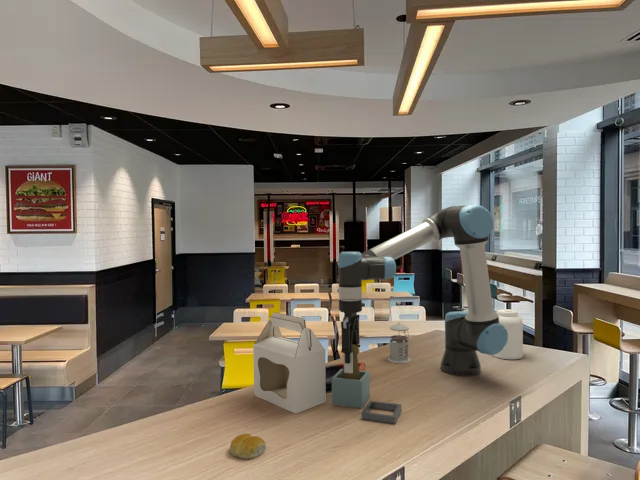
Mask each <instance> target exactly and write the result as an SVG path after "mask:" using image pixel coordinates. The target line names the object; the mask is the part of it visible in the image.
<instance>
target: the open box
mask: <svg viewBox="0 0 640 480" xmlns="http://www.w3.org/2000/svg"><path fill="white" fill-rule="evenodd" d="M359 372H360V380H354V379H345V378H342V374H343V369H340V370H339V371H338V372H337V373H336V374H335V375H334V376H333V377H332V389H331V405H335V406H341V407H349V408H350V407H351V408H359V409H363V408H364V407H365V406H366V405H365V404H366V403H368V400H369V399H370V397H371V395H370V394H371V390H370V389H371V387H370V386H371V385H370V383H371V381H370V378H371V377H370V375H371V374H370V373H371V372H370V371H366V370H365V371H359Z"/></svg>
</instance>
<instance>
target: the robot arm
mask: <svg viewBox="0 0 640 480" xmlns="http://www.w3.org/2000/svg"><path fill="white" fill-rule="evenodd" d="M493 228H494V219H493V215H492V214H491V212H490V211H489V210H488V209H487V208H486V207H484V206H483V205H479V204H465V205H455V206H454V205H451V206H448V207H445V208H443V209H441V210H439V211H437V212H435V213H433V214H432V215H430V216H427V217H426V218H424V219H423V220H422V222H421V223H419V224H418V225H416V226H414V227H412V228H410V229H408V230H406V231H404V232H402V233H400V234H397V235H395V236H394V237H392V238H389V239H388V240H386V241H383V242H382V243H380V244H378V245H376V246H373V247H372V248H370V249H368V250H365V251H364V252H362V253H361V252H360V251H343V252H340V253H339V254H338V259H337V260H338V262H337V268H338V271H337V272H338V288H337V292H338V299H339V300H338V310H339V312H340V313H344V315H343V316H344V317H343V319H342V321H341V322H340V327H341V329H340V330H341V351H340V353H343V363H344V373H353V353H352V344H354V345H357V346H358V348H360V347H361V344H360V314H358V313H360V312H362V310H363V301H362V298H363V283H362V281H373V280H374V281H375V280H389V279H392V278H394V277H395V275H396V273H397V264H396V261H395V260H398V259H399V258H401V257H404V256H405V255H406V254H409V253H410V252H413V251H415V250H417V249H419V248H420V247H421V248H422V246H424V245H426V244H429V243H431V242H434V243H435V242H438V241H440V240H442V239H445V238H446V239H447V238H453V240H454V245H455V246H456V247H457V248H458V249H459V252H460V253H459V255H460V261H461V268H462V275H463V282H464V288H465V297H466V303H467V304H466V305H467V310H463V311H462V310H461V311H457V310H456V311H449V312H447V313H446V314H445V317H444V344H445V345H444V353H443V354H442V358H441V361H440V370H441V371H442V372H444V373H447V374H449V375H455V376H464V377H465V376H466V377H467V376H475V375H479V374H480V373H481V371H482V366H481V362H480V359H479V355H478V353H477V352H479V353H480V354H484V355H488V356H493V355H495V354H497V353H499V352H500V351H502V350H503V348H504V346H505V345H506V343H507V340H508V332H507V330H506V328H505V327H504V326H503V325H501V324H499V317H498V314H497V313H496V312H497V311H494V306H493V297H492V292H491V284H490V283H491V282H490V276H489V275H490V274H489V268H488V262H487V254H486V244H487V243H488V242H489V236H490V234H492V233H491V232H492V230H493ZM358 356H359V354H358V355H357V358H358V359H359V357H358Z"/></svg>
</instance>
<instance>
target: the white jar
mask: <svg viewBox="0 0 640 480" xmlns="http://www.w3.org/2000/svg"><path fill="white" fill-rule="evenodd" d="M495 312H496V313H497V314H498V317H499V324H501V325H503V326H504V327H505V328H506V330H507V332H508V340H507V343H506V345H505V346H504V348H503V350H502V351H500V352H499V353H497V354H495V355H492V356H493V357H495V358H498V359H502V360H520V359H521V358H523V352H524V351H523V350H524V348H523V347H524V345H523V344H524V341H523V340H524V339H523V338H524V336H523V335H524V333H523V332H524V331H523V330H524V328H523V327H524V326H523V325H524V324H523V323H524V322H523V319H522V317H520V315H519V313H518V311H517V310H515V309H507V308H500V309H498V310H496V311H495Z"/></svg>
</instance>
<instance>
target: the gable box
mask: <svg viewBox="0 0 640 480" xmlns="http://www.w3.org/2000/svg"><path fill="white" fill-rule="evenodd" d="M268 318H269V319H268V320H267V323H266V325H265V326H264V327H263V329H262V331H261V333H260V334H259V336H258V337H257V339H256V341H254V343H253V349H252V351H253V395H254V396H255V397H257V398H259V399H261V400H264V401H265V402H267V403H270V404H272V405H275V406H277V407H280V408H282V409H284V410H286V411H288V412H290V413H293V414H295V415H296V414H298V413H299V414H300V413H301V412H303V411H306V410H309V409H312V408H314V407H317V406H320V405H323V404H325V403H326V402H327V397H326V395H327V394H326V393H327V390H326V372H325V366H326V349H325V347H324V346H323V345H322V343H321V342H320V340H319V338H317V336H316V334H315V333H314V331H313V330H312V329H311V328H309V327H307V324H306V320H305V318H303V317H299V316H294V315H289V314H285V313H280V312H273V313H272V316H271V315H269V316H268ZM280 328H281V329H282V328H283V329H285V330H290V331H294V332H299V333H300V334H299V335H300V336H299V339H298V341H296V340H292V339H289V338H284V337H283V334H282V331H281V329H280Z"/></svg>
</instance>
